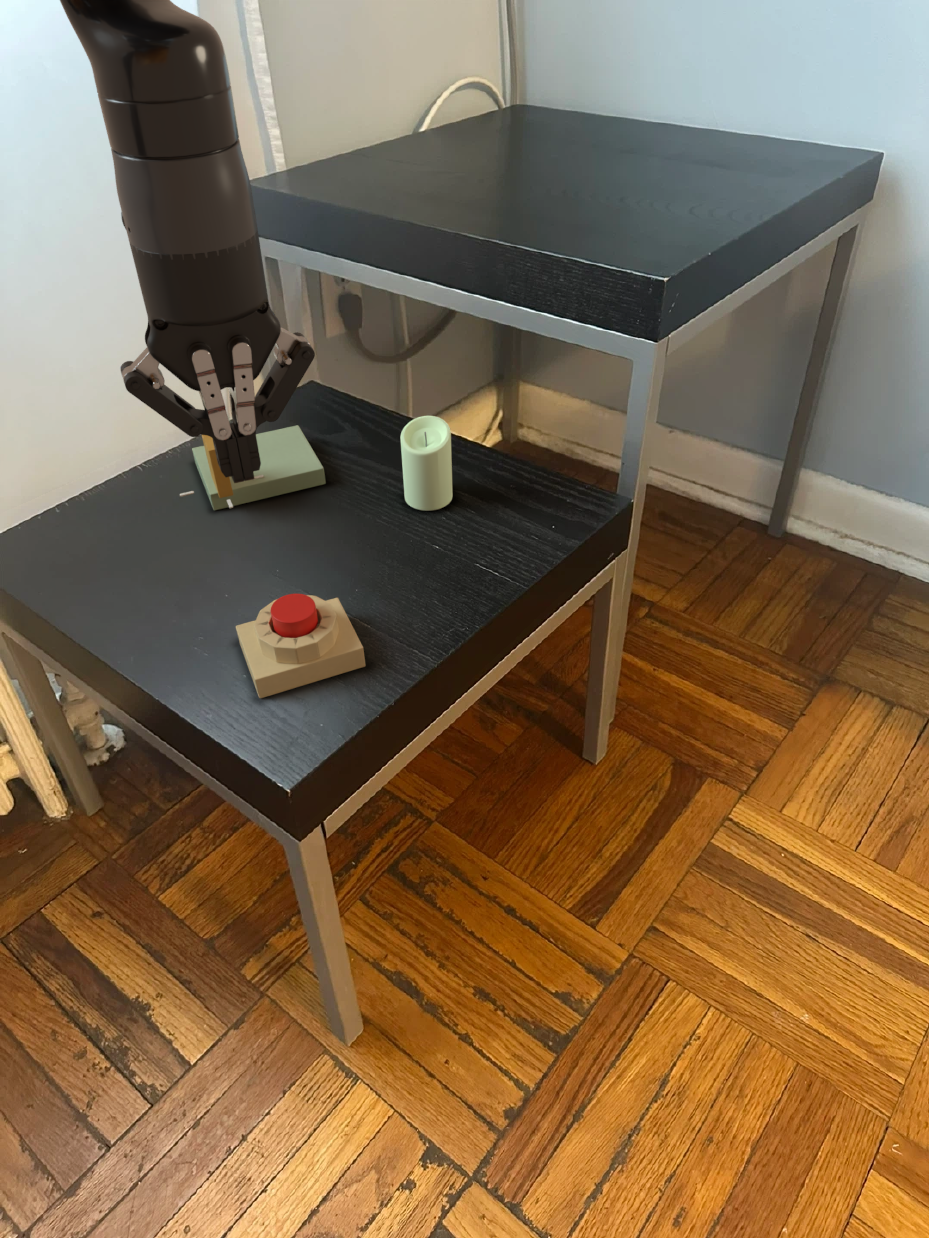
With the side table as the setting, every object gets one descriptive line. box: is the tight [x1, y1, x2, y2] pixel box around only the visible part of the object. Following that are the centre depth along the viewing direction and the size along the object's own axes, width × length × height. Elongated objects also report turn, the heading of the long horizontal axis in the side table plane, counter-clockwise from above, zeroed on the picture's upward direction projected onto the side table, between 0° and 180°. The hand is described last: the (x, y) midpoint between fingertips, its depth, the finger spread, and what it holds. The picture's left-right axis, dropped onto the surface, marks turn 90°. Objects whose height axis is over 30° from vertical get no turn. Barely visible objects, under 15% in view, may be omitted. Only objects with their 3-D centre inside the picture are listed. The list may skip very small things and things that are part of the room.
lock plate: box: [179, 425, 327, 511], centre depth 93 cm, size 15×13×2 cm
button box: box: [235, 594, 366, 699], centre depth 73 cm, size 9×7×4 cm
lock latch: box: [201, 435, 233, 498], centre depth 88 cm, size 4×1×6 cm, turn 23°
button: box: [270, 593, 318, 638], centre depth 71 cm, size 4×4×2 cm
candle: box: [400, 415, 453, 512], centre depth 89 cm, size 5×5×8 cm
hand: (242, 475), depth 64 cm, fingers closed
